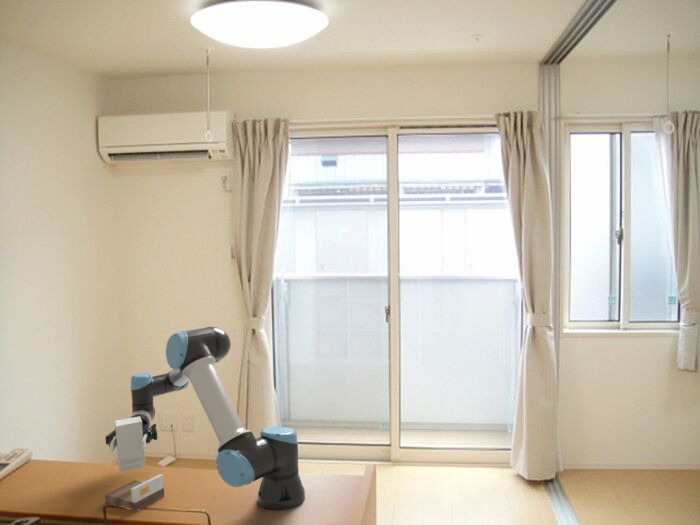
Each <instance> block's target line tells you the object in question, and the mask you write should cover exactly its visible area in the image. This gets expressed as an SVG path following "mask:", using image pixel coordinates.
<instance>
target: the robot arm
mask: <svg viewBox="0 0 700 525" xmlns="http://www.w3.org/2000/svg"><path fill="white" fill-rule="evenodd" d="M231 346H232V345H231V339H230V337H229V334H228V333H227V332H226V331H225V330H223V329H222V328H220V327H216V326H206V327H201V328H197V329H196V328H195V329H191V330H182V331H180V332H174V333H173V334H171V335H170V336H169V338H168V339H167V342H166V345H165V347H166V348H165V358H166V361H167V364H168V366H169V367H170V368H171V370H170V371H169V372H167V373H163V374H159V375H154V376H153V375H152V373H150V372H138V373H135V374H133V375H132V376H131V378H130V392H131V408H132V409H131V410H132V412H131V413H132V414H131V416H130V417H129V418H133V417H139V416H140V418H141V420H142V429H143V439H142V449H144V450H145V448H146V447H147V444H150V443H151V441H152V440H153V441H157V440H158V431H157V424H156V423H153V424H152V422H153V420H154V419H155V415H156V414H155V413H156V408H155V406H154V397H155V398H156V397H159V396H162V395H166V394H171V393H174V392H178V391H179V392H180V391H181V390H184V389H186V388H188V386H189V383H191V386H192V388H193V390H194V392H195V393H196V395H197V398H198V400H199V403H200V404H201V406H202V410H203V411H204V413H205V415H206V417H207V419H208V421H209V424H210V426H211V427H212V429H213V432H214V434H215V436H216V438H217V440H218V442H219V445H218V448H217V453H218V454H217V455H216V460H215V464H216V470H217V473H218V474H219V477H220V478H221V479H222V480H223V482H225V484H227V485H228V486H231V487H233V488H240V487H243V486H247V485H250V484H252V483H253V482H255V481H258V480H260V479H261V482H260V486H259V489H258V493H257V503H258V505H260V507H262V508H264V509H268V510H275V511H277V510H278V511H281V510H287V509H288V510H289V509H292V508H294V507H297V506H299V505H301V504H302V503H303V502H304V500H306V493H305V492H306V491H305V488H304V486H303V482H302V479H301V477H300V474H299V472H300V471H299V448H298V447H299V446H298V445H299V442H298V434H297V432H296V431H295V430H294V429H292V428H290V427H286V426H267V427H264V428H262V429H260V433H259V435H260V436H259V437H257V438H255V437H256V436H255V435H254V433H253V431H252V430H249V429H246V428H245V426H244V424H243V423H242V420H241V419H240V417H239V414H238V412H237V411H236V408H235V406H234V404H233V402H232V400H231V398H230V396H229V395H228V394H229V393H228V392H227V390H226V387H225V386H224V384H223V382H222V380H221V378H220V377H219V374H218V373H217V372H218V371H217V370H216V368H215V364H216V363H218V362H220V361H221V360H223V359H224V358H226V356H227V355H228V354H229V353H230V350H231ZM151 424H152V425H151ZM105 445H108V446H109V451H110V453H113V452H114V451H115V449H116V448H117V441H116V428H115V427H114V430H112V431H111V432H110V433H109V434H107V435H106V436H105Z"/></svg>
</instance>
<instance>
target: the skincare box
mask: <svg viewBox="0 0 700 525" xmlns="http://www.w3.org/2000/svg"><path fill="white" fill-rule="evenodd" d="M114 424H115V427H114V429H115V428H116V441H117V446H116V451H117V452H116V454H117V463H118V471H119V473H123V472H126V471H131V470H132V471H133V470H137V469H141V468H146V458H145V449H142V439H143V429H142V420H141V418H140V416H139V417H133V418H130V417H129V418H123V419H118V420H115V421H114Z"/></svg>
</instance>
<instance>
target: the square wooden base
mask: <svg viewBox="0 0 700 525" xmlns="http://www.w3.org/2000/svg"><path fill="white" fill-rule="evenodd" d="M104 496H105V498H104V500H105V504H106V505H109V506H112V505H114V507H116V506H124V507H128V508H131V509H130V510H132V511H131V512H133V511H134V513H136V512H139V511H138V509H140V508H142V509H144V508H146V507H148V506H150V505H151V504H154V503H155V502H157V501H159V500H160V499H163V498H164V497H165V482H164V474H162V473H160V474H158V475H155V476H153V477H151V478H150V479H148V480H145V481H139V480H135V479H134V480H132V481H130V482H128V483H126V484H123V485H122V486H120V487H118V488H116V489H113V490H112V491H110V492H108V493H105V494H104Z"/></svg>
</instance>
